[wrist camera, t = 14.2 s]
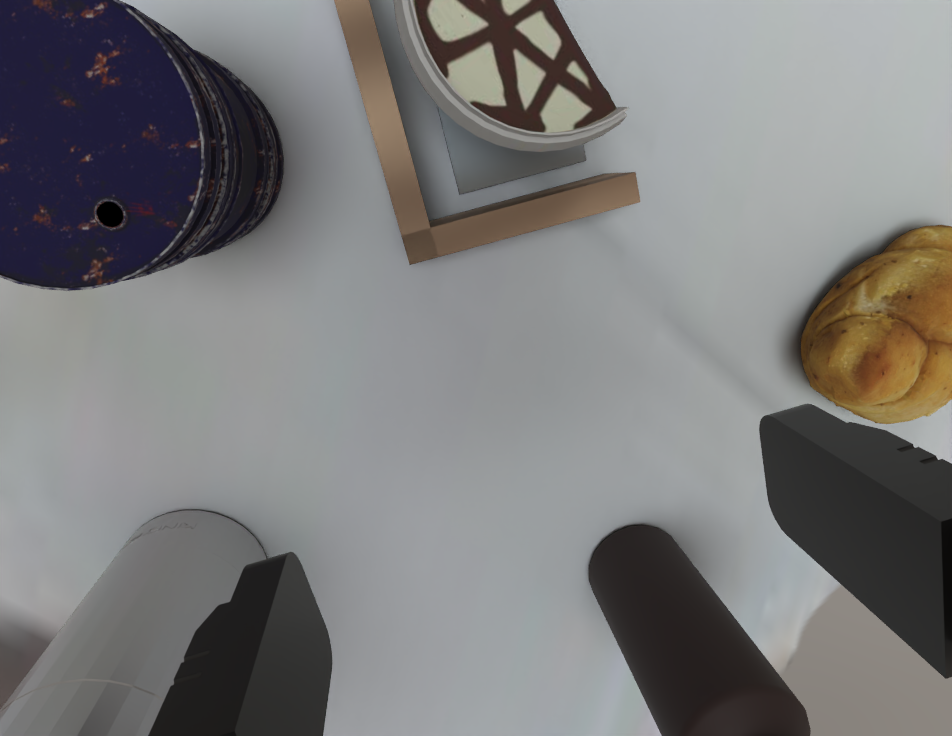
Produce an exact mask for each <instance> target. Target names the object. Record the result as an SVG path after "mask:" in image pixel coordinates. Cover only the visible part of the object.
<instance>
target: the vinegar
mask: <svg viewBox="0 0 952 736" xmlns="http://www.w3.org/2000/svg"><path fill="white" fill-rule="evenodd" d="M589 582H590V585H591V587H592V590H593V593H594V595H595V597H596V599H597V601H598V603H599V605H600V607H601V610H602V612H603V614H604V616H605V618H606V620H607V622H608V624H609V626H610V628H611V630H612V633H613V635H614V637H615V639H616V641H617V643H618V645H619V647H620V649H621V651H622V653H623V656H624V658H625V660H626V662H627V664H628V666H629V668H630V670H631V672H632V674H633V676H634V679H635V681H636V683H637V685H638V687H639V689H640V691H641V693H642V695H643V697H644V699H645V701H646V704H647V706H648V708H649V710H650V712H651V714H652V716H653V718H654V720H655V722H656V724H657V727H658V729H659V731H660V733H661V735H662V736H810V726H809V722H808V717H807V714H806V710H805V708H804V707H803V705H802V704H801V703H800V702H799V701H798V699H797V698H796V696H795V695H794V694H793V692H792V691H791V690H790V689H789V687H788V686H787V685H786V684H785V682H784V681H783V680H782V678H781V677H780V676H779V674H778V673H777V672H776V671H775V669H774V668H773V667H772V665H771V664H770V663H769V662H768V660H767V659H766V658H765V656H764V655H763V654H762V653H761V651H760V650H759V649H758V647H757V646H756V645H755V644H754V642H753V641H752V640H751V638H750V637H749V636H748V635H747V633H746V632H745V631H744V629H743V628H742V627H741V625H740V624H739V623H738V622H737V620H736V619H735V618H734V616H733V615H732V614H731V613H730V611H729V610H728V609H727V607H726V606H725V605H724V604H723V602H722V601H721V600H720V598H719V597H718V596H717V595H716V593H715V592H714V591H713V589H712V588H711V587H710V586H709V584H708V583H707V582H706V580H705V579H704V578H703V577H702V575H701V574H700V573H699V571H698V570H697V569H696V567H695V566H694V565H693V564H692V562H691V561H690V560H689V558H688V557H687V556H686V555H685V553H684V552H683V551H682V549H681V548H680V547H679V546H678V544H677V543H676V542H675V541H674V539H673V538H672V537H671V536H670V535H669V534H667V533H665V532H664V531H662V530H660V529H658V528H655V527H650V526H646V525H640V526H630V527H627V528H624V529H622V530H619V531H616V532H614V533H613V534H612V535H610V536H609V537H608V538H606V539H605V540H604V541H603V542H602V543H601V544H600V546H599V547H598V548H597V549H596V551H595V552H594V554H593V557H592V560H591V562H590V565H589Z"/></svg>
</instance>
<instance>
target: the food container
mask: <svg viewBox="0 0 952 736" xmlns="http://www.w3.org/2000/svg"><path fill="white" fill-rule="evenodd" d="M394 6H395V15H396V21H397V25H398V29H399V33H400V37H401V41H402V45H403V47H404V50H405V52H406V55H407V57H408V59H409V62H410V64H411V67H412V69H413V70H414V72H415V74H416V76H417V77H418V79H419V81H420V82H421V84H422V86H423V87H424V89H425V90H426V92H427V93H428V94H429V95H430V96H431V98H432V99H433V100H434V101H435V103H436V104H437V105H438V106H439V107H440V109H442V110H443V111H444V112H445V113H446V114H447V115H448V116H449V117H450V118H452V119H453V120H454V121H455V122H456V123H457V124H458V125H460V126H462V127H463V128H465V129H466V130H468V131H469V132H471V133H472V134H474V135H476V136H477V137H480V138H482V139H484V140H486V141H489V142H491V143H493V144H496V145H499V146H503V147H507V148H511V149H515V150H520V151H534V152H545V151H555V150H563V149H567V148H571V147H574V146H578V145H582V144H584V143H586V142H589V141H591V140H593V139H595V138H598V137H600V136H602V135H604V134H605V133H607V132H608V131H610V130H611V129H613V128H614V127H616V126H617V125H619V124H620V123H621V122H622V121H623V120H624V119H625V117H626V116H627V115H626V113H625V111H626V110H628V109H629V108H628V107H616V106H615V104H614V103H613V101H612V99H611V97H610V95H609V93H608V91H607V90H606V89H605V88H604V87H603V85H602V84H601V82H600V81H599V79H598V78H597V76H596V74H595V73H594V71H593V69H592V68H591V66H590V64H589V62H588V61H587V59H586V57H585V56H584V54H583V52H582V50H581V49H580V47H579V45H578V43H577V42H576V40H575V38H574V36H573V35H572V33H571V31H570V29H569V28H568V26H567V24H566V22H565V20H564V18H563V16H562V14H561V13H560V11H559V9H558V7H557V5H556V3H555V2H554V0H394Z"/></svg>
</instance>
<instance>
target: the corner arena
mask: <svg viewBox="0 0 952 736" xmlns="http://www.w3.org/2000/svg"><path fill="white" fill-rule="evenodd" d="M334 1H335V5H336V8H337V12H338V15H339V19H340V22H341V26H342V29H343V33H344V36H345V40H346V43H347V47H348V50H349V54H350V57H351V61H352V64H353V68H354V71H355V75H356V78H357V82H358V85H359V89H360V92H361V96H362V99H363V103H364V106H365V110H366V113H367V117H368V120H369V124H370V127H371V131H372V134H373V138H374V141H375V145H376V148H377V152H378V155H379V159H380V162H381V166H382V169H383V173H384V176H385V180H386V183H387V187H388V190H389V194H390V197H391V201H392V204H393V208H394V211H395V215H396V218H397V222H398V225H399V229H400V232H401V236H402V239H403V243H404V246H405V250H406V253H407V257H408V260H409V264H410V265H411V264H415V263H418V262H422V261H426V260H429V259H433V258H437V257H440V256H444V255H448V254H451V253H455V252H459V251H462V250H466V249H470V248H473V247H477V246H481V245H484V244H488V243H492V242H495V241H499V240H503V239H506V238H510V237H514V236H517V235H521V234H525V233H528V232H532V231H536V230H539V229H543V228H547V227H550V226H554V225H558V224H561V223H565V222H569V221H572V220H576V219H580V218H583V217H587V216H591V215H594V214H598V213H602V212H605V211H609V210H613V209H616V208H620V207H624V206H627V205H631V204H635V203H638V202H640V197H639V191H638V185H637V179H636V173H635V172H631V173H610V174H602V175H598V176H594V177H591V178H587V179H583V180H580V181H576V182H572V183H568V184H565V185H561V186H557V187H554V188H550V189H546V190H543V191H539V192H535V193H531V194H528V195H524V196H520V197H517V198H513V199H509V200H506V201H502V202H498V203H494V204H491V205H487V206H483V207H480V208H476V209H472V210H469V211H465V212H461V213H457V214H454V215H450V216H446V217H443V218H439V219H435V220H432V221H429V220H428V217H427V213H426V209H425V206H424V202H423V198H422V194H421V191H420V187H419V183H418V180H417V176H416V172H415V169H414V165H413V161H412V158H411V154H410V150H409V146H408V143H407V139H406V135H405V132H404V128H403V124H402V121H401V117H400V113H399V110H398V106H397V102H396V99H395V95H394V91H393V87H392V84H391V80H390V76H389V73H388V69H387V65H386V62H385V58H384V54H383V51H382V47H381V43H380V39H379V36H378V32H377V28H376V25H375V21H374V17H373V14H372V10H371V6H370V3H369V0H334ZM554 2H555V3H556V0H554ZM556 5H557V4H556ZM437 107H438V111H439V115H440V119H441V123H442V127H443V131H444V135H445V139H446V143H447V147H448V151H449V155H450V159H451V163H452V167H453V171H454V175H455V179H456V183H457V186H458V190H459V194H463V193H467V192H471V191H475V190H478V189H482V188H486V187H489V186H493V185H497V184H501V183H504V182H508V181H512V180H515V179H519V178H523V177H527V176H530V175H534V174H538V173H541V172H545V171H549V170H553V169H556V168H560V167H564V166H568V165H571V164H575V163H579V162H582V161H586V156H585V151H584V146H583V144H582V145H578V146H574V147H571V148H567V149H563V150H555V151H545V152H534V151H520V150H515V149H511V148H507V147H503V146H499V145H496V144H493V143H491V142H489V141H486V140H484V139H482V138H480V137H477V136H476V135H474V134H472V133H471V132H469V131H468V130H466V129H465V128H463V127H462V126H460V125H458V124H457V123H456V122H455V121H454V120H453V119H452V118H450V117H449V116H448V115H447V114H446V113H445V112H444V111H443V110H442V109H440V107H439V106H438V105H437Z"/></svg>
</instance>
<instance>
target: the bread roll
mask: <svg viewBox="0 0 952 736" xmlns="http://www.w3.org/2000/svg"><path fill="white" fill-rule="evenodd" d="M801 358H802V363H803V366H804V370H805V373H806V374H807V376H808V378H809V381H810V386H811V387H812V388H813V389H814V390H816V391H817V392H819V393H820V394H822V395H823V396H825V397H826V398H828V399H829V400H830V401H832V402H834V403H835V404H836V406H841V407H843V408H845V409H847V410H849V411H851V412H853V413H854V414H855V415H858V416H860V417H863V418H865V419H868V420H871V421H874V422H875V423H881V424H891V423H899V422H905V421H910V420H913V419H916V418H919V417H921V416H930V415H931V414H933V413H934V412H936V411H937V410H938V409H939V408H941V407H942V406H944V405H946V404H947V403H948V402H949V401H950V400H951V399H952V227H951V226H945V225H936V226H925V227H921V228H918V229H913V230H911V231H909V232H907V233H905V234H903V235H902V236H900V237H898V238H897V239H896V240H894V241H893V242H892V243H891V244H890V245H889V246H888V247H887V248H886V249H885V250H884V251H883V253H882V254H880V255H875V256H873V257H871V258H869V259H867V260H866V261H864V262H863V263H861V264H860V265H858V266H856V267H855V268H853V269H852V270H851V271H850V272H849V273H847V275H846V276H844V277H843V278H842V279H841V280H839V281H838V282H837V283H836V284H835V285H834V286H833V287H832V288H831V289H830V291H829V292H828V293H827V294H826V295H825V297H824V298H823V299H822V300H821V302H820V303H819V304H818V305H817V307H816V308H815V310H814V312H813V313H812V315H811V316H810V318H809V320H808V322H807V324H806V327H805V329H804V331H803V333H802V338H801Z"/></svg>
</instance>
